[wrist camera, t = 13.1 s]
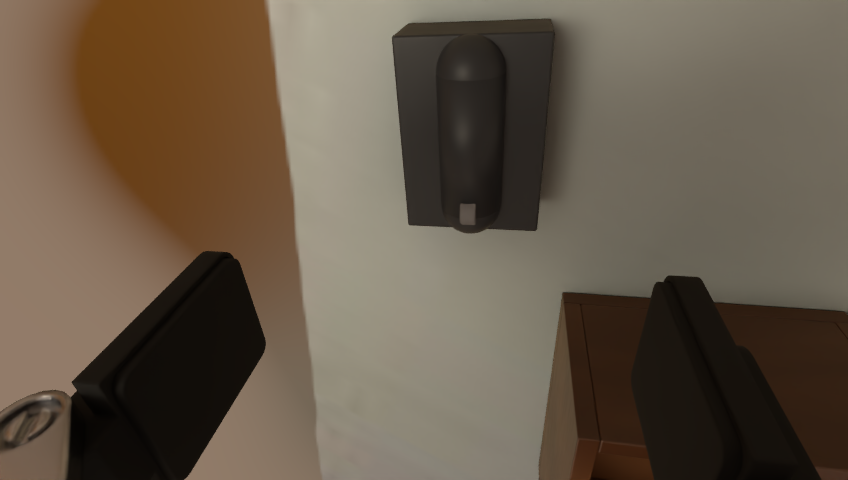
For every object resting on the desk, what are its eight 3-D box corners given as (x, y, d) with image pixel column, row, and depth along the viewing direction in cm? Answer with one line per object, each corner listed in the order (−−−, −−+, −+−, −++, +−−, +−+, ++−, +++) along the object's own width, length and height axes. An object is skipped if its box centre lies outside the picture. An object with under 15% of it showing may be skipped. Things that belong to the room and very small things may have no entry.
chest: (562, 292, 24) (577, 438, 17) (845, 311, 21) (993, 488, 15) (538, 465, 32) (542, 608, 25) (738, 492, 30) (800, 656, 23)
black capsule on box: (407, 23, 18) (380, 45, 15) (551, 18, 17) (557, 40, 14) (419, 197, 22) (400, 244, 19) (535, 201, 21) (537, 251, 18)
